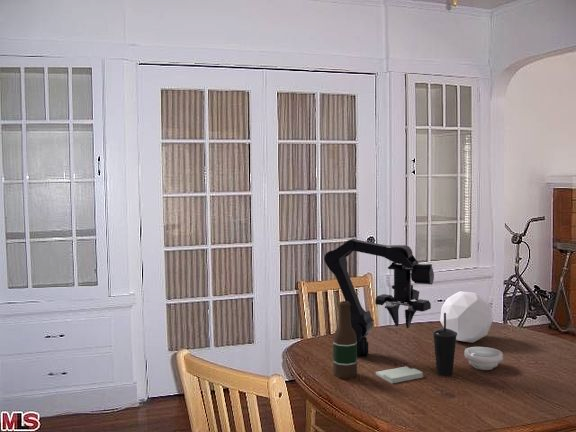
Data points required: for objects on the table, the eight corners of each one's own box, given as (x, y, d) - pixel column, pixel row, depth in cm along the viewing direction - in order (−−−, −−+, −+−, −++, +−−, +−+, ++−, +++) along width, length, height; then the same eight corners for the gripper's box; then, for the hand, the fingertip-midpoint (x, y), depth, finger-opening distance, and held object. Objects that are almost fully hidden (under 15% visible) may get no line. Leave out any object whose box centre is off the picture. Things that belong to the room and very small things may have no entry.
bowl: (473, 373, 181) (473, 358, 181) (459, 361, 193) (459, 346, 193) (509, 372, 182) (509, 356, 182) (492, 360, 194) (493, 345, 194)
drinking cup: (458, 378, 177) (458, 316, 176) (433, 377, 179) (433, 315, 177) (455, 370, 185) (456, 310, 183) (431, 369, 186) (432, 309, 185)
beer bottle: (331, 371, 186) (330, 299, 184) (354, 370, 187) (354, 298, 185) (335, 379, 178) (334, 305, 177) (359, 378, 179) (359, 304, 177)
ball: (463, 353, 224) (472, 307, 233) (499, 348, 207) (507, 299, 215) (424, 333, 220) (435, 288, 228) (458, 326, 202) (469, 277, 211)
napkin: (391, 383, 174) (391, 378, 174) (375, 374, 182) (375, 369, 182) (423, 377, 179) (423, 372, 179) (406, 368, 187) (406, 364, 187)
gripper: (438, 281, 193) (438, 326, 194) (390, 276, 205) (390, 318, 206) (422, 286, 185) (422, 333, 186) (374, 280, 197) (374, 324, 198)
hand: (402, 327), depth 194 cm, fingers open, 4 cm apart
